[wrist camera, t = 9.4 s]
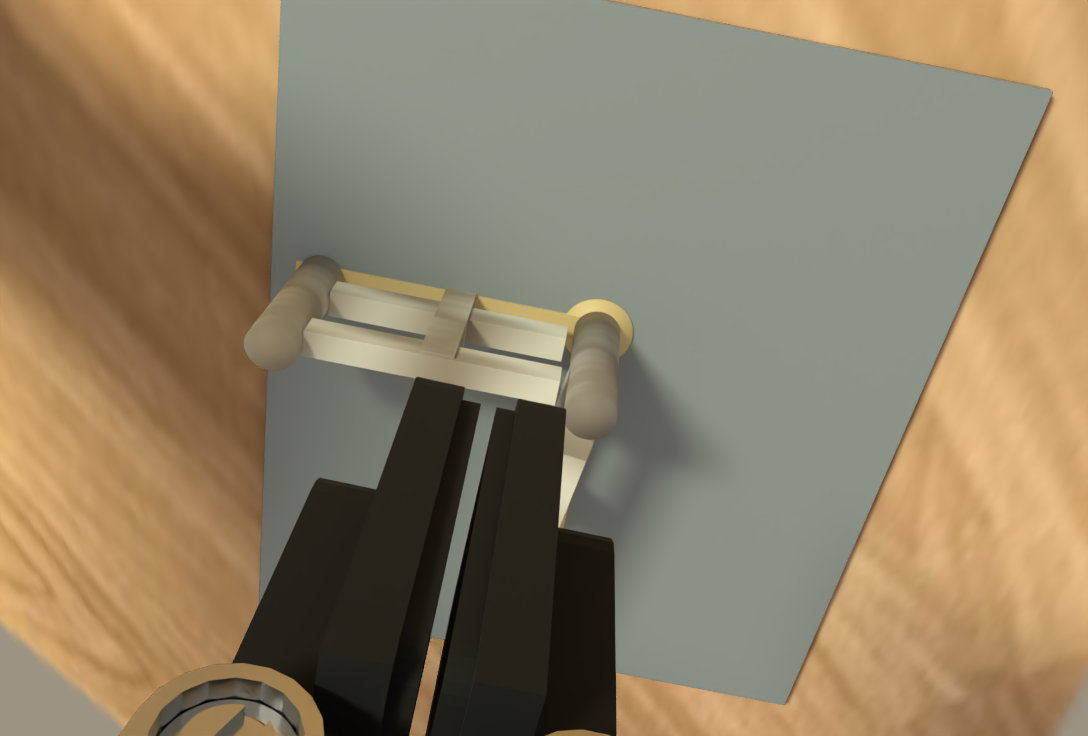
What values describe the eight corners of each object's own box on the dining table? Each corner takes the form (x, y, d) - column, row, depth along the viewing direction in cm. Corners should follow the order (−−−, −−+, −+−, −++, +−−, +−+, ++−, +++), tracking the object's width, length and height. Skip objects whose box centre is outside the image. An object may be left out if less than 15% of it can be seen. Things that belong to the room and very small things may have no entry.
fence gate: (572, 359, 37) (564, 424, 33) (601, 368, 37) (596, 434, 33) (498, 559, 42) (483, 637, 38) (524, 566, 43) (512, 645, 38)
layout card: (261, 598, 46) (258, 605, 46) (287, -65, 32) (282, -64, 31) (783, 698, 47) (784, 706, 46) (1048, 88, 32) (1054, 92, 31)
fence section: (297, 292, 38) (238, 371, 32) (300, 251, 37) (239, 324, 31) (614, 355, 38) (611, 444, 32) (624, 315, 37) (622, 399, 31)
